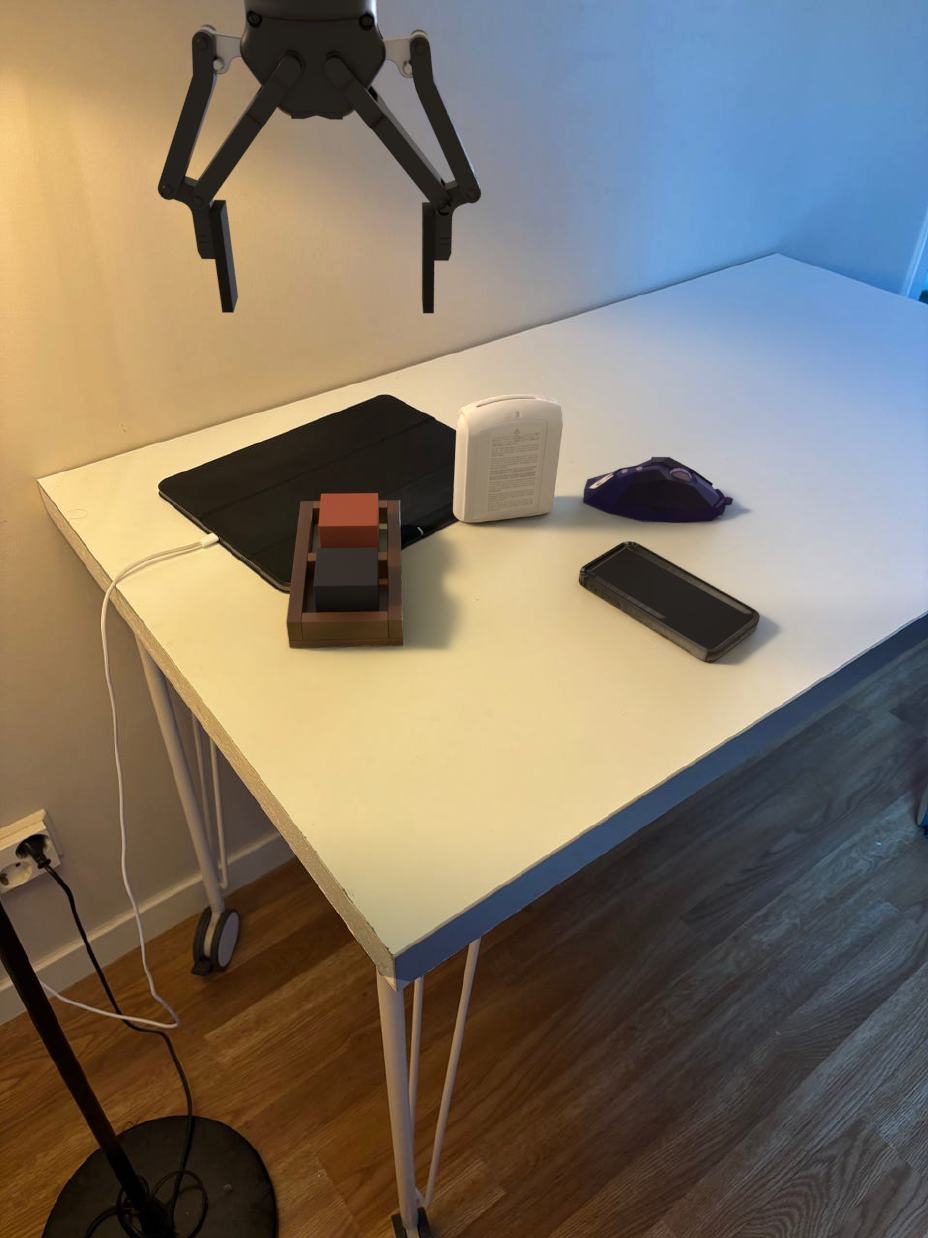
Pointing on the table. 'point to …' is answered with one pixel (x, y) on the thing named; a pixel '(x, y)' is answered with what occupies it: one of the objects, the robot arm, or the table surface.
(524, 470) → the photo printer
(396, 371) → the table surface
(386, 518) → the frame
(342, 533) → the pad
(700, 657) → the phone
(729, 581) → the table surface
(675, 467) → the computer mouse
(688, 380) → the table surface
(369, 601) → the black block
